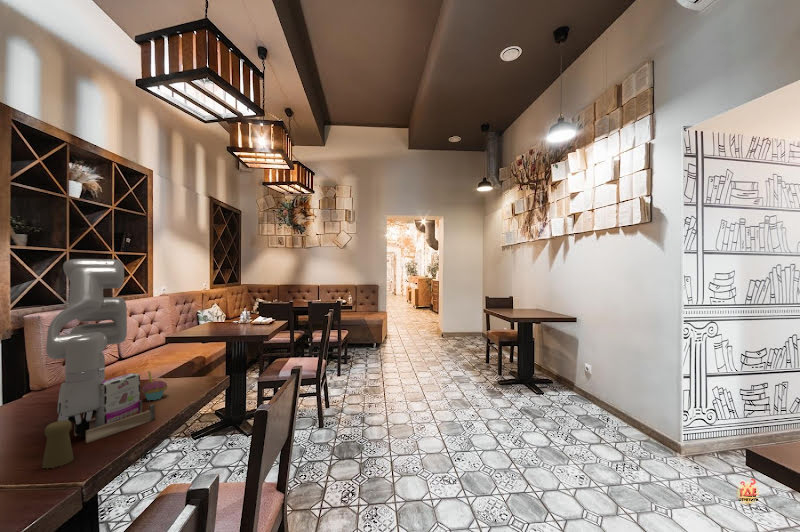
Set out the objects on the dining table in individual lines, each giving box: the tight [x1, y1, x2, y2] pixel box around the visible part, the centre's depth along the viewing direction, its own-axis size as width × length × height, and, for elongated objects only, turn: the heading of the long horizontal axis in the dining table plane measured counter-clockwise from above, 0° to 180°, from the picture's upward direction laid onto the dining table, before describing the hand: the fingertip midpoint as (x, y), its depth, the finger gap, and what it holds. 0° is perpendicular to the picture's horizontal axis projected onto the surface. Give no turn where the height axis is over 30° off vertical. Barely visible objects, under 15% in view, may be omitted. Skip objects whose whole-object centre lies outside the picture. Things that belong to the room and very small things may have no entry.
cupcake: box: [141, 371, 168, 402], centre depth 136 cm, size 9×8×12 cm
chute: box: [73, 399, 156, 444], centre depth 110 cm, size 10×18×5 cm, turn 150°
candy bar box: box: [94, 372, 141, 428], centre depth 111 cm, size 11×5×16 cm, turn 165°
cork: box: [41, 420, 74, 470], centre depth 90 cm, size 6×6×11 cm
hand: (82, 434), depth 103 cm, fingers closed
